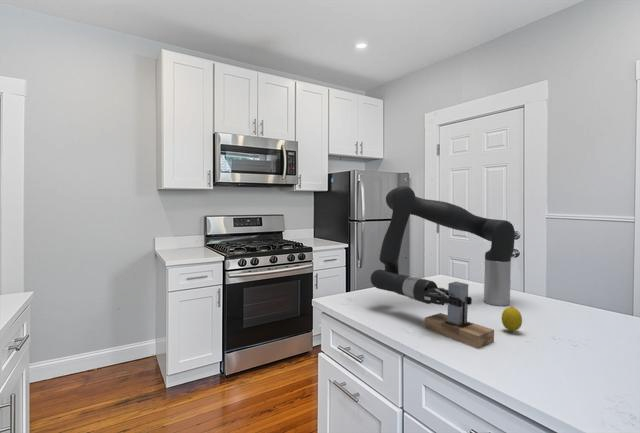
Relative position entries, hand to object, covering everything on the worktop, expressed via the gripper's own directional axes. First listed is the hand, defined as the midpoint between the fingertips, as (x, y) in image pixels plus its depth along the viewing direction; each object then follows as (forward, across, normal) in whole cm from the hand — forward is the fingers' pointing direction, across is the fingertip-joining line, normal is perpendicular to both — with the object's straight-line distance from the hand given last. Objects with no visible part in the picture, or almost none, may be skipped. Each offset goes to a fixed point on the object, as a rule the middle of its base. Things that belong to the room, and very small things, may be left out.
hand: (466, 302), depth 101 cm
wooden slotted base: (-3, 0, +11) cm, 11 cm away
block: (-3, 0, +7) cm, 8 cm away
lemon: (+5, +16, +11) cm, 20 cm away
